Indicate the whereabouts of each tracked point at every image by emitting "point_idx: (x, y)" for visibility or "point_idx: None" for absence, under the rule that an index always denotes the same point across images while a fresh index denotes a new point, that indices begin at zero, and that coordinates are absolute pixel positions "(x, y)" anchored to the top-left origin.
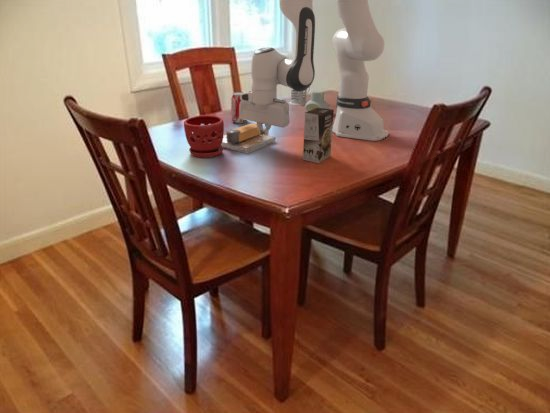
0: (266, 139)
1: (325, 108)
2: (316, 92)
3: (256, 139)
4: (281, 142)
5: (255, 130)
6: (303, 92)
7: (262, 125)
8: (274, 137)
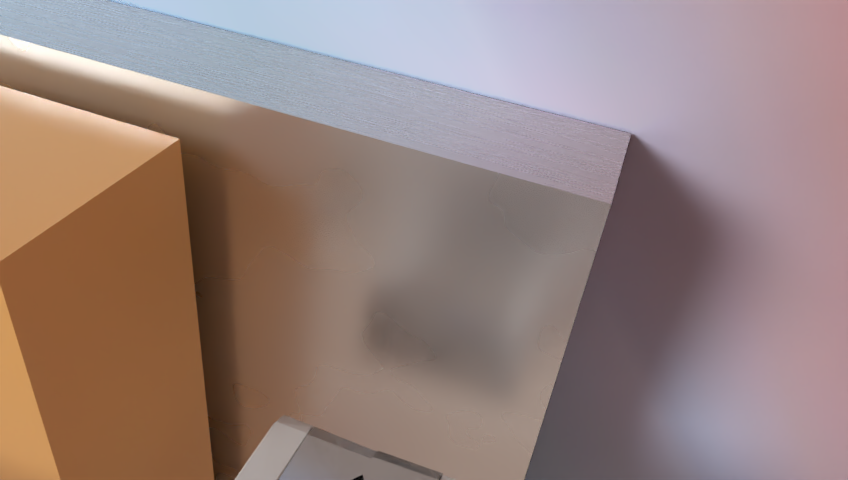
0: (493, 450)
1: None
2: None
3: None
4: (823, 110)
5: (123, 471)
6: None
7: (1, 279)
8: (598, 239)
